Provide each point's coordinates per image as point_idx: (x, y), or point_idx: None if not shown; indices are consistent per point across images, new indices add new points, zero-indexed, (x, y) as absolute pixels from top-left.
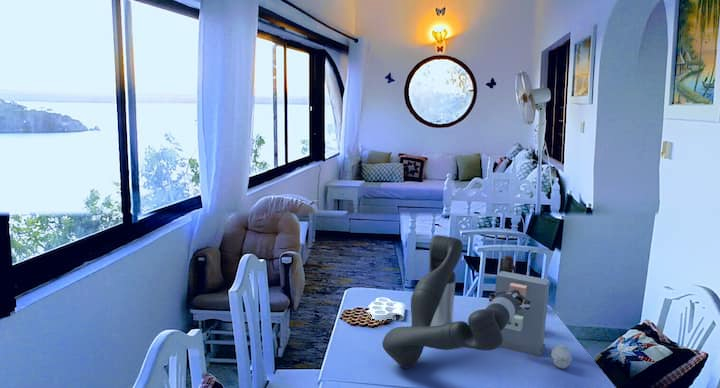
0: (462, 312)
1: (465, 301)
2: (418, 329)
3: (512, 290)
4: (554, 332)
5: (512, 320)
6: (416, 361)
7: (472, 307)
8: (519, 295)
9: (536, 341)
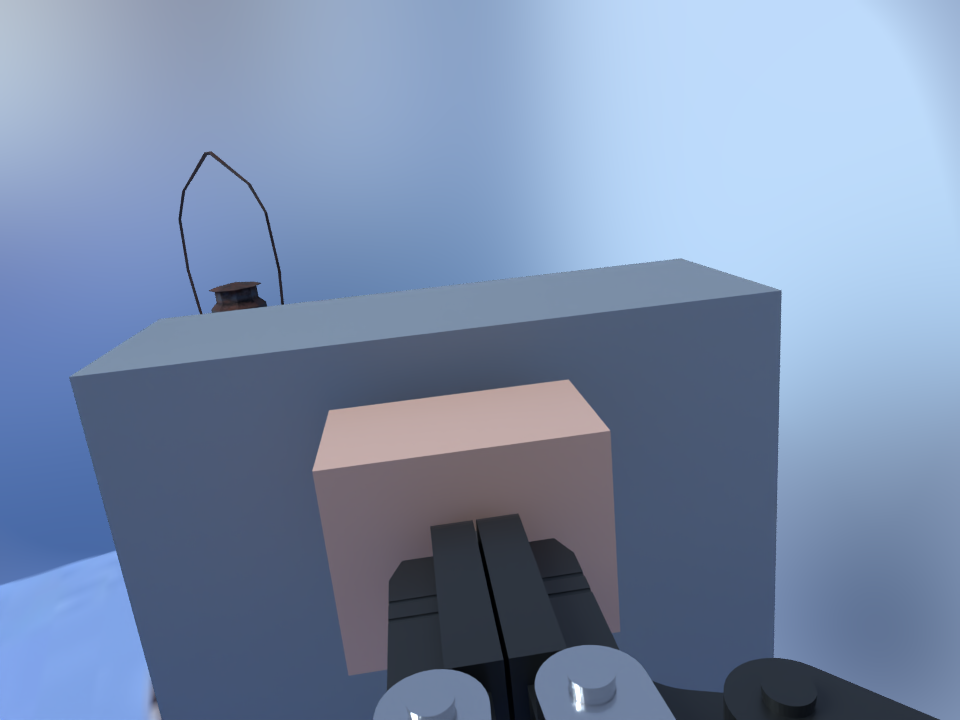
0: (24, 715)
1: (67, 597)
2: None
3: (394, 543)
4: None
5: None
6: None
7: (106, 628)
8: (745, 717)
9: None
